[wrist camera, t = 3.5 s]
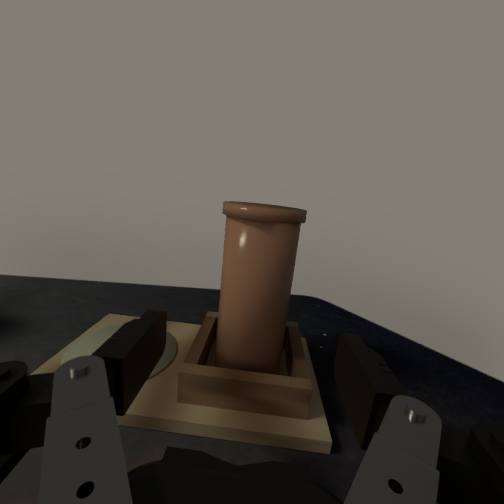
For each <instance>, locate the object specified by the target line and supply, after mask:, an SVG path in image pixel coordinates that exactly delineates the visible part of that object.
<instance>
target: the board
mask: <svg viewBox="0 0 504 504" xmlns="http://www.w3.org/2000/svg"><path fill="white" fill-rule="evenodd" d="M218 315H219V313H218V312H210V311H208V313H207V315H206V317H205V319H204V321H203V323H202V325H195V324H187V323H179V322H171V321H167V329H166V346H165V350H164V353H163V355H162V357H161V358H160V360H159V362H158V363H157V365H156V366H155V368H154V369H153V371H152V373H151V374H150V376H149V377H148V379H147V380H146V382H145V384H144V385H143V387H142V388H141V390H140V392H139V393H138V395H137V396H136V398H135V399H134V401H133V403H132V404H131V406H130V407H129V409H128V410H127V412H126V414H125V415H124V416H117V415H116V416H117V421H118V425H123V426H130V427H137V428H145V429H152V430H159V431H166V432H173V433H180V434H188V435H195V436H202V437H209V438H216V439H224V440H231V441H238V442H245V443H252V444H260V445H267V446H274V447H281V448H288V449H296V450H303V451H310V452H317V453H324V454H330V450H331V446H332V439H331V435H330V431H329V427H328V424H327V420H326V416H325V412H324V408H323V404H322V401H321V397H320V393H319V389H318V385H317V381H316V378H315V374H314V370H313V366H312V362H311V358H310V354H309V351H308V347H307V343H306V339H305V338H301V336H300V332H299V328H298V323H297V322H291V321H286V327H285V333H284V340H283V347H282V354H281V360H280V367H279V374H278V375H274V374H266V373H259V372H251V371H243V370H235V369H228V368H220V367H214V364H215V352H216V339H217V327H218ZM133 319H139V317H131V316H123V315H115V314H108V315H107V316H105V317H104V318H103V319H102V320H100V321H99V322H98V323H96V324H95V325H94V326H92V327H91V328H90V329H89V330H87V331H86V332H85V333H83V334H82V335H81V336H80V337H78V338H77V339H76V340H74V341H73V342H72V343H70V344H69V345H68V346H67V347H65V348H64V349H63V350H61V351H60V352H59V353H57V354H56V355H55V356H54V357H52V358H51V359H50V360H48V361H47V362H46V363H44V364H43V365H42V366H41V367H39V368H38V369H37V370H35V371H34V372H33V373H31V374H30V375H33V374H43V373H53V372H55V371H56V370H57V368H58V367H59V366H61V365H62V364H63V363H65V362H67V361H69V360H71V359H74V358H77V357H81V356H87V355H91V354H92V353H93V352H95V351H96V350H97V349H98V348H99V347H100V346H101V345H102V344H103V343H104V342H105V341H106V340H107V339H108V338H111V336H112V335H113V334H114V333H115V332H117V330H118V329H119V328H120V327H121V326H122V325H124V324H125V323H127V322H129V321H131V320H133Z"/></svg>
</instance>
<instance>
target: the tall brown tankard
mask: <svg viewBox="0 0 504 504" xmlns="http://www.w3.org/2000/svg"><path fill="white" fill-rule="evenodd" d="M223 214H225V215H226V216H227V217H226V228H225V240H224V253H223V265H222V266H223V267H222V277H221V290H220V302H219V315H218V327H217V339H216V352H215V364H214V367H220V368H228V369H235V370H243V371H251V372H259V373H266V374H274V375H278V374H279V367H280V360H281V354H282V347H283V340H284V333H285V327H286V320H287V313H288V306H289V300H290V293H291V286H292V279H293V273H294V266H295V259H296V253H297V246H298V239H299V232H300V226H301V223H305V220H306V214H307V211H306V210H302V209H297V208H291V207H284V206H277V205H268V204H259V203H247V202H233V201H229V202H227V201H225V202H223Z"/></svg>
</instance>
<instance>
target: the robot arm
mask: <svg viewBox="0 0 504 504" xmlns="http://www.w3.org/2000/svg"><path fill="white" fill-rule="evenodd" d="M166 329H167V313H166V311H160V310H151V309H149V310H147V311H146V312H145V313H144V314H143V315H142V316H141V317H140V318H139V319H133V320H131V321H129V322H127V323H125V324H124V325H122V326H121V327H120V328H119V329H118V330H117V332H115V333H114V334H113V335H112V336H111V338H108V339H107V340H106V341H105V342H104V343H103V344H102V345H101V346H100V347H99V348H98V349H97V350H96V351H95V352H93V353H92V354H91V355H87V356H81V357H77V358H74V359H71V360H69V361H67V362H65V363H63V364H62V365H61V366H59V367H58V368H57V370H56V371H55V372H53V373H43V374H33V375H29V373H28V366H27V364H26V363H24V362H20V361H8V362H2V363H0V484H1V482H2V481H3V480H4V479H5V478H6V477H7V475H8V474H9V473H10V472H11V471H12V470H13V468H14V467H15V466H16V465H17V464H18V462H19V461H20V460H21V459H22V458H23V457H24V455H25V454H26V453H27V452H28V451H29V450H30V448H36V447H42V446H44V449H43V459H42V469H41V480H40V490H39V500H38V504H436V502H437V503H440V504H504V430H503V429H501V428H499V427H497V426H494V425H492V424H488V423H483V422H478V423H475V424H474V425H473V427H472V429H471V432H470V433H467V432H464V431H461V430H459V429H456V428H453V427H450V426H448V425H445V424H442V422H441V420H440V418H439V416H438V415H437V414H436V413H435V412H434V411H433V410H432V409H431V408H430V407H429V406H427V405H426V404H424V403H423V402H421V401H419V400H417V399H415V398H412V397H410V396H409V395H408V394H407V392H406V391H405V389H404V388H403V386H402V385H401V384H400V382H399V381H398V379H397V378H396V376H395V375H394V374H393V373H392V371H391V369H390V368H389V366H387V363H386V362H385V361H384V359H383V358H382V356H381V355H379V354H378V353H377V352H376V351H374V350H373V349H372V348H367V346H366V345H365V343H364V341H363V340H362V338H361V337H360V336H359V335H353V334H345V333H342V334H341V335H340V337H339V342H338V347H337V351H336V356H335V361H334V377H335V380H336V383H337V385H338V388H339V391H340V394H341V396H342V399H343V402H344V405H345V407H346V410H347V413H348V416H349V418H350V421H351V424H352V426H353V429H354V432H355V435H356V437H357V440H358V443H359V446H360V448H361V450H367V451H366V454H365V456H364V458H363V460H362V463H361V465H360V467H359V470H358V472H357V474H356V476H355V479H354V481H353V483H352V485H351V488H350V490H349V492H348V495H347V497H346V499H345V501H344V503H343V502H342V501H341V500H340V499H338V498H337V497H336V496H335V495H334V494H333V493H331V492H330V491H328V490H327V489H326V488H324V487H322V486H321V485H319V484H317V483H315V482H313V481H311V479H310V473H309V466H306V465H299V464H291V463H284V462H277V461H270V462H263V463H255V464H248V465H241V466H236V465H232V464H230V463H228V462H225V461H223V460H221V459H219V458H216V457H214V456H212V455H209V454H207V453H205V452H202V451H197V450H190V449H182V448H175V447H168V446H167V449H166V451H165V454H164V456H163V459H162V460H157V461H153V462H150V463H146V464H144V465H141V466H138V467H136V468H134V469H132V470H130V471H129V472H127V470H126V464H125V459H124V454H123V448H122V443H121V438H120V432H119V427H118V421H117V416H124V415H125V414H126V412H127V410H128V409H129V407H130V406H131V404H132V403H133V401H134V399H135V398H136V396H137V395H138V393H139V392H140V390H141V388H142V387H143V385H144V384H145V382H146V380H147V379H148V377H149V376H150V374H151V373H152V371H153V369H154V368H155V366H156V365H157V363H158V362H159V360H160V358H161V357H162V355H163V353H164V350H165V346H166ZM116 415H117V416H116Z"/></svg>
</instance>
